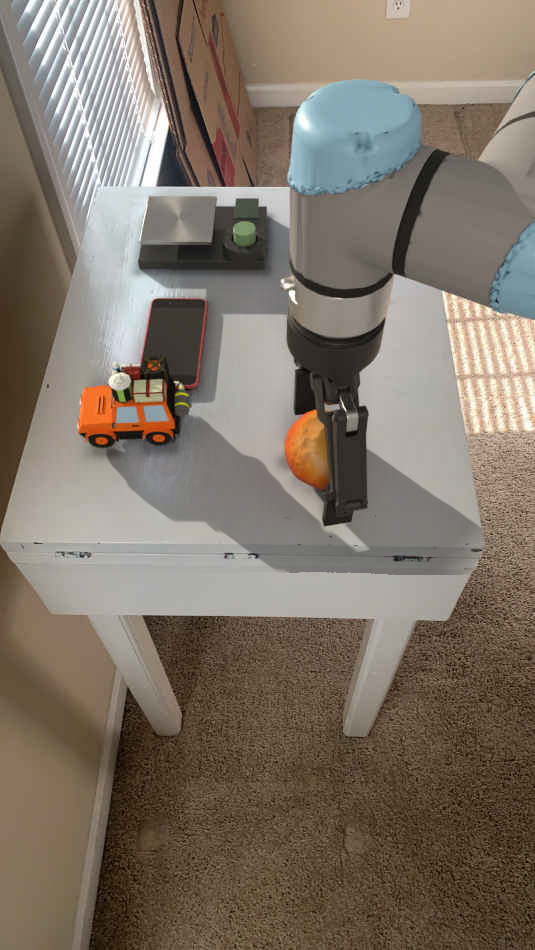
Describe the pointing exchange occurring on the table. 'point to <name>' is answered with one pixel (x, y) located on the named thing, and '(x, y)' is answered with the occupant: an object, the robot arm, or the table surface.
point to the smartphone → (177, 336)
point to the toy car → (134, 405)
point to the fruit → (308, 451)
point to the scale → (212, 248)
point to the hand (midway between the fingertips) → (320, 463)
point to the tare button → (244, 233)
